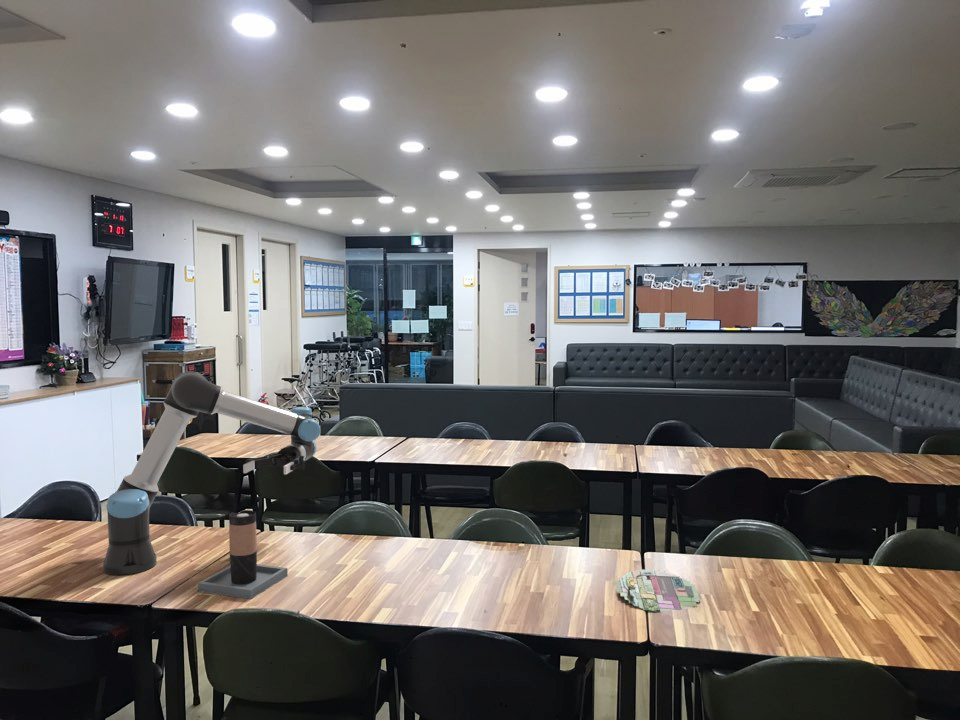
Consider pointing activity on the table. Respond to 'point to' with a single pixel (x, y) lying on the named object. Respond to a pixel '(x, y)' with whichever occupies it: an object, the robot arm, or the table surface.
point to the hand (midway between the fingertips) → (264, 469)
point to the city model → (657, 590)
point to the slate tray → (224, 586)
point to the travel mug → (243, 547)
